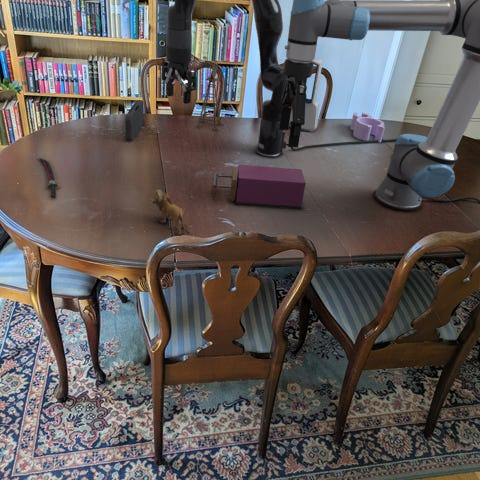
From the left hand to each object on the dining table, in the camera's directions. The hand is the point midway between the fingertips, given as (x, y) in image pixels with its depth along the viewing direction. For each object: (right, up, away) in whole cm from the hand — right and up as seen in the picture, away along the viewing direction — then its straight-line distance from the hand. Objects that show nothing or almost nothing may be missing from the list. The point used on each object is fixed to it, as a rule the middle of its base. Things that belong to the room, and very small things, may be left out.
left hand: (178, 99), depth 147 cm
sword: (-43, -24, +4) cm, 50 cm away
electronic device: (+48, +7, +68) cm, 84 cm away
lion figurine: (-1, -40, -13) cm, 42 cm away
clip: (+77, +4, +69) cm, 103 cm away
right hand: (+33, -15, -14) cm, 39 cm away
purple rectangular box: (+29, -31, +6) cm, 43 cm away
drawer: (+23, -30, +5) cm, 38 cm away
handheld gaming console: (-24, 0, +45) cm, 51 cm away
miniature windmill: (+6, +6, +59) cm, 60 cm away
